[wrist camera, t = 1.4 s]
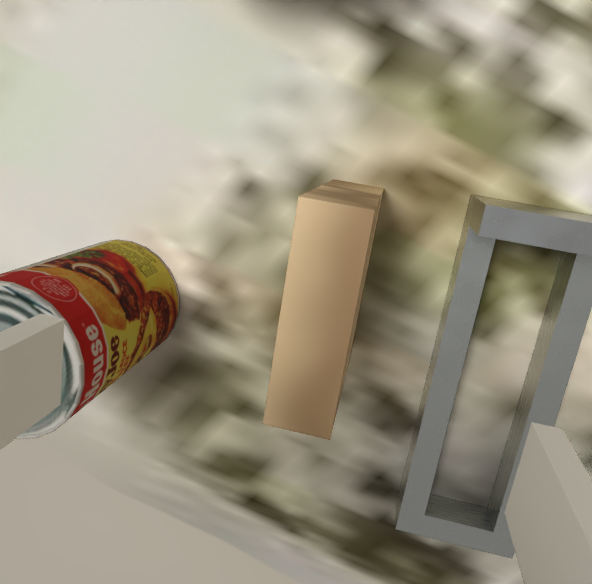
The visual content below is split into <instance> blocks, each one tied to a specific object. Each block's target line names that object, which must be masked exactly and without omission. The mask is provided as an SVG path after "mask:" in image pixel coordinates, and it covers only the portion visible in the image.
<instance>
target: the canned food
mask: <svg viewBox="0 0 592 584" xmlns="http://www.w3.org/2000/svg"><path fill="white" fill-rule="evenodd" d="M39 314H44V315H48V316H53V317H57V318H62V319H64V340H63V361H62V383H61V404H60V405H59V406H58V407H57V408H55V409H54V410H53V411H51V412H50V413H49V414H47V415H46V416H45V417H43V418H42V419H41V420H39V421H38V422H37V423H35V424H34V425H33V426H31V427H30V428H29V429H27V430H26V431H25V432H23V433H22V434H21V435H19V436H18V437H17V438H15V439H28V438H38V437H40V436H43V435H45V434H48V433H50V432H53V431H55V430H56V429H57V428H58V427H60V426H61V425H62V424H63V423H64V422H66V421H67V420H68V419H69V418H71V417H72V416H73V415H74V414H75V413H77V412H78V411H79V410H80V409H82V408H83V407H84V406H85V405H86V404H88V403H89V402H90V401H91V400H93V399H94V398H95V397H96V396H97V395H99V394H100V393H101V392H102V391H103V390H105V389H106V388H107V387H108V386H110V385H111V384H112V383H113V382H114V381H116V380H117V379H118V378H119V377H121V376H122V375H123V374H124V373H125V372H127V371H128V370H129V369H130V368H132V367H133V366H134V365H135V364H136V363H138V362H139V361H140V360H141V359H143V358H144V357H145V356H146V355H147V354H149V353H150V352H151V351H152V350H154V349H155V348H156V347H157V346H158V345H160V344H161V343H162V342H163V341H165V340H166V339H167V338H168V336H169V335H170V333H171V332H172V330H173V329H174V327H175V324H176V321H177V318H178V315H179V294H178V289H177V285H176V282H175V280H174V278H173V276H172V274H171V272H170V270H169V268H168V267H167V266H166V265H165V264H164V262H163V261H162V260H161V259H160V258H159V256H157V255H156V254H154V253H153V252H152V251H150V250H149V249H148V248H146V247H144V246H142V245H139V244H137V243H134V242H132V241H124V240H111V241H105V242H100V243H97V244H94V245H91V246H88V247H84V248H81V249H78V250H75V251H72V252H69V253H66V254H62V255H59V256H56V257H53V258H50V259H47V260H44V261H40V262H37V263H34V264H31V265H28V266H25V267H21V268H18V269H15V270H12V271H9V272H6V273H3V274H0V332H1V331H3V330H6V329H8V328H10V327H12V326H14V325H17V324H19V323H21V322H23V321H25V320H28V319H30V318H32V317H34V316H36V315H39Z"/></svg>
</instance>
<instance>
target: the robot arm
mask: <svg viewBox="0 0 592 584" xmlns="http://www.w3.org/2000/svg"><path fill="white" fill-rule="evenodd" d="M63 340H64V319H62V318H57V317H53V316H48V315H44V314H39V315H36V316H34V317H32V318H30V319H28V320H25V321H23V322H21V323H19V324H17V325H14V326H12V327H10V328H8V329H6V330H3V331H1V332H0V449H2V448H3V447H5V446H6V445H7V444H9V443H10V442H11V441H13V440H14V439H15V438H17V437H18V436H19V435H21V434H22V433H23V432H25V431H26V430H27V429H29V428H30V427H31V426H33V425H34V424H35V423H37V422H38V421H39V420H41V419H42V418H43V417H45V416H46V415H47V414H49V413H50V412H51V411H53V410H54V409H55V408H57V407H58V406H59V405H60V404H61V383H62V361H63ZM504 513H505V516H506V520H507V523H508V527H509V531H510V534H511V538H512V541H513V545H514V548H515V552H516V556H517V559H518V563H519V566H520V570H521V574H522V577H523V581H524V584H592V480H591V478H590V476H589V475H588V473H587V471H586V469H585V468H584V466H583V464H582V462H581V461H580V459H579V457H578V455H577V454H576V452H575V450H574V448H573V447H572V445H571V443H570V441H569V440H568V438H567V436H566V434H565V433H564V431H563V429H561V428H556V427H552V426H547V425H542V424H538V423H533V422H532V423H531V426H530V429H529V433H528V436H527V439H526V443H525V446H524V449H523V453H522V456H521V459H520V463H519V466H518V469H517V473H516V476H515V479H514V483H513V486H512V489H511V492H510V496H509V499H508V502H507V506H506V509H505V512H504Z"/></svg>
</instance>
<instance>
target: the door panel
mask: <svg viewBox="0 0 592 584" xmlns="http://www.w3.org/2000/svg"><path fill="white" fill-rule="evenodd" d="M383 190H384V188H379V187H374V186H368V185H362V184H356V183H351V182H345V181H339V180H332V181H329V182H327V183H325V184H323V185H321V186H319V187H317V188H315V189H313V190H311V191H309V192H307V193H305V194H303V195H301V196H299V197H298V203H297V210H296V216H295V223H294V229H293V235H292V242H291V248H290V254H289V261H288V267H287V273H286V280H285V286H284V292H283V299H282V305H281V311H280V318H279V324H278V330H277V337H276V343H275V350H274V356H273V362H272V369H271V375H270V381H269V388H268V394H267V400H266V407H265V413H264V419H263V424H265V425H269V426H273V427H278V428H282V429H286V430H290V431H295V432H299V433H303V434H307V435H312V436H316V437H320V438H324V439H329V440H330V438H331V433H332V429H333V425H334V421H335V417H336V413H337V409H338V405H339V400H340V396H341V392H342V388H343V384H344V380H345V376H346V371H347V367H348V363H349V359H350V355H351V351H352V347H353V342H354V337H355V332H356V327H357V322H358V316H359V311H360V306H361V301H362V296H363V291H364V286H365V281H366V276H367V271H368V266H369V261H370V256H371V251H372V246H373V241H374V236H375V231H376V226H377V221H378V215H379V210H380V205H381V200H382V195H383Z"/></svg>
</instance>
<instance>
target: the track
mask: <svg viewBox="0 0 592 584" xmlns="http://www.w3.org/2000/svg"><path fill="white" fill-rule="evenodd" d="M496 239H498V240H504V241H510V242H515V243H521V244H526V245H532V246H537V247H543V248H548V249H554V250H559V251H563V253H562V256H561V260H560V263H559V266H558V270H557V273H556V277H555V280H554V283H553V287H552V290H551V294H550V297H549V300H548V304H547V307H546V311H545V314H544V318H543V321H542V324H541V328H540V331H539V335H538V338H537V341H536V345H535V348H534V352H533V355H532V358H531V362H530V365H529V369H528V372H527V376H526V379H525V382H524V386H523V389H522V393H521V396H520V399H519V403H518V406H517V410H516V413H515V416H514V420H513V423H512V427H511V430H510V433H509V437H508V440H507V444H506V447H505V451H504V454H503V457H502V461H501V464H500V468H499V471H498V474H497V478H496V481H495V485H494V488H493V491H492V495H491V498H490V502H489V505H488V508H485V507H481V506H477V505H473V504H469V503H464V502H460V501H456V500H452V499H448V498H444V497H440V496H436V495H431V494H430V492H431V488H432V484H433V480H434V476H435V472H436V469H437V465H438V461H439V457H440V453H441V449H442V445H443V441H444V438H445V434H446V430H447V426H448V422H449V418H450V414H451V410H452V407H453V403H454V399H455V395H456V391H457V387H458V383H459V380H460V376H461V372H462V368H463V364H464V360H465V356H466V352H467V349H468V345H469V341H470V337H471V333H472V329H473V325H474V321H475V318H476V314H477V310H478V306H479V302H480V298H481V294H482V290H483V287H484V283H485V279H486V275H487V271H488V267H489V263H490V259H491V256H492V252H493V248H494V244H495V240H496ZM591 307H592V215H588V214H582V213H576V212H570V211H565V210H559V209H553V208H547V207H541V206H535V205H530V204H524V203H518V202H512V201H506V200H501V199H495V198H489V197H483V196H477V195H471V196H470V200H469V204H468V208H467V212H466V217H465V221H464V225H463V229H462V233H461V237H460V242H459V246H458V250H457V254H456V258H455V262H454V266H453V271H452V275H451V279H450V283H449V287H448V291H447V296H446V300H445V304H444V308H443V312H442V316H441V321H440V325H439V329H438V333H437V337H436V341H435V345H434V350H433V354H432V358H431V362H430V366H429V370H428V375H427V379H426V383H425V387H424V391H423V395H422V399H421V404H420V408H419V412H418V416H417V420H416V424H415V429H414V433H413V437H412V441H411V445H410V449H409V453H408V458H407V462H406V466H405V470H404V474H403V478H402V483H401V487H400V491H399V495H398V499H397V503H396V529H397V530H401V531H405V532H409V533H413V534H417V535H421V536H425V537H429V538H433V539H437V540H441V541H445V542H448V543H452V544H456V545H460V546H464V547H468V548H472V549H476V550H480V551H484V552H488V553H492V554H496V555H500V556H504V557H508V558H512V557H513V554H514V551H515V548H514V545H513V541H512V538H511V534H510V531H509V527H508V523H507V520H506V516H505V513H504V512H505V509H506V506H507V502H508V499H509V496H510V492H511V489H512V486H513V483H514V479H515V476H516V473H517V469H518V466H519V463H520V459H521V456H522V453H523V449H524V446H525V443H526V439H527V436H528V433H529V429H530V426H531V423H532V422H533V423H538V424H542V425H547V426H552V427H554V424H555V421H556V418H557V415H558V412H559V409H560V406H561V402H562V399H563V396H564V393H565V390H566V387H567V383H568V380H569V377H570V374H571V371H572V368H573V364H574V361H575V358H576V355H577V352H578V349H579V345H580V342H581V339H582V336H583V333H584V330H585V326H586V323H587V320H588V317H589V314H590V311H591Z"/></svg>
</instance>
